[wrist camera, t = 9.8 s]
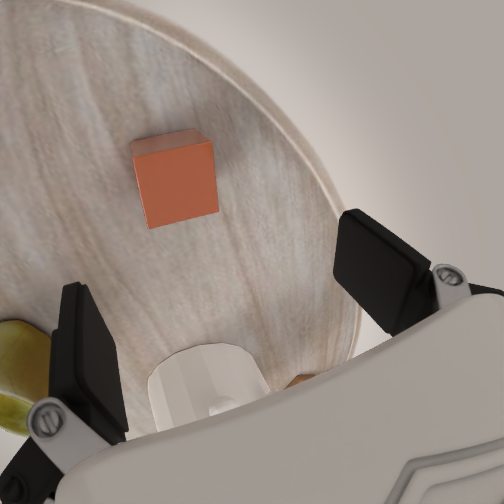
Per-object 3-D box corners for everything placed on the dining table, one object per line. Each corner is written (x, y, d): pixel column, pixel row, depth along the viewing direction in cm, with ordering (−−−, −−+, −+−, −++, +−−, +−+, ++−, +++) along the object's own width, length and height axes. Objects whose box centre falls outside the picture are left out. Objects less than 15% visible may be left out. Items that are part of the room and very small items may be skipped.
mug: (61, 314, 21) (44, 437, 14) (81, 361, 28) (75, 450, 21) (-48, 290, 17) (-76, 392, 11) (-11, 341, 24) (-25, 421, 18)
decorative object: (229, 406, 41) (306, 555, 22) (137, 409, 34) (200, 591, 15) (279, 332, 35) (401, 515, 16) (166, 325, 28) (276, 591, 9)
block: (130, 141, 19) (132, 158, 15) (194, 128, 20) (212, 141, 16) (142, 201, 21) (147, 230, 18) (201, 186, 22) (219, 212, 19)
